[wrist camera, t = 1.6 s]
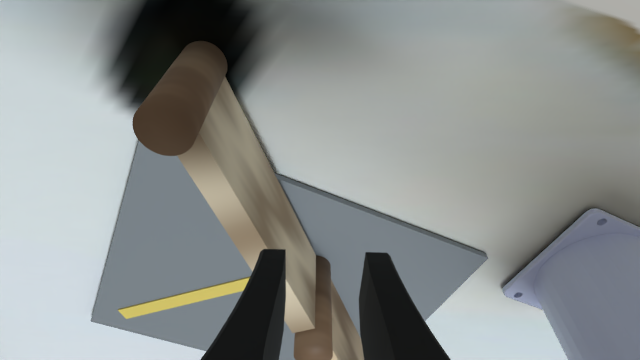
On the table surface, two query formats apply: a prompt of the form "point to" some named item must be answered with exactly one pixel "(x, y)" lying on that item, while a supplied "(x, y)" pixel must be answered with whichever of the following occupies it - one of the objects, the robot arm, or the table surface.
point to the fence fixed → (328, 324)
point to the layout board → (231, 268)
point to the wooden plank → (228, 168)
